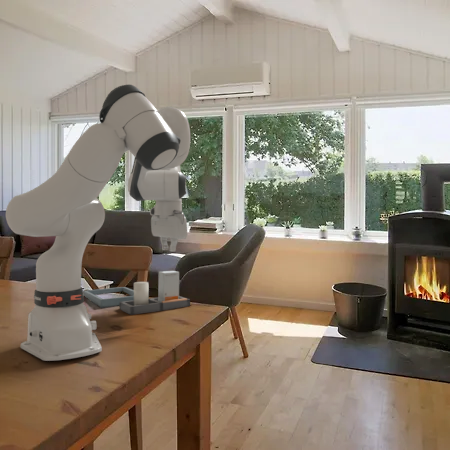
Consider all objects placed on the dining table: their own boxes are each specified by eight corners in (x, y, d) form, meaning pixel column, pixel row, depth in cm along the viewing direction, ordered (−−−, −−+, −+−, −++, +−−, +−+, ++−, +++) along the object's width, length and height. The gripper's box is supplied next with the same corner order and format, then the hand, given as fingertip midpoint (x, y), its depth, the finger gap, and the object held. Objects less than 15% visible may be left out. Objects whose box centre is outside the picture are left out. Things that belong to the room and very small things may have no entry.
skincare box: (163, 308, 153) (163, 273, 152) (157, 306, 156) (157, 271, 156) (179, 306, 156) (179, 271, 156) (173, 304, 160) (173, 270, 159)
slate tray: (145, 303, 161) (145, 294, 161) (101, 308, 153) (101, 299, 152) (124, 294, 178) (124, 286, 178) (83, 298, 169) (83, 290, 169)
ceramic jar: (151, 310, 150) (150, 283, 150) (137, 312, 148) (137, 284, 147) (144, 307, 154) (144, 281, 154) (131, 309, 152) (131, 282, 151)
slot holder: (190, 306, 156) (190, 298, 156) (130, 314, 144) (130, 305, 144) (177, 302, 164) (177, 294, 164) (119, 309, 152) (119, 300, 152)
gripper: (192, 210, 149) (192, 252, 149) (164, 210, 166) (164, 248, 166) (174, 210, 145) (174, 253, 146) (147, 210, 162) (148, 249, 163)
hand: (168, 250), depth 156 cm, fingers open, 4 cm apart
